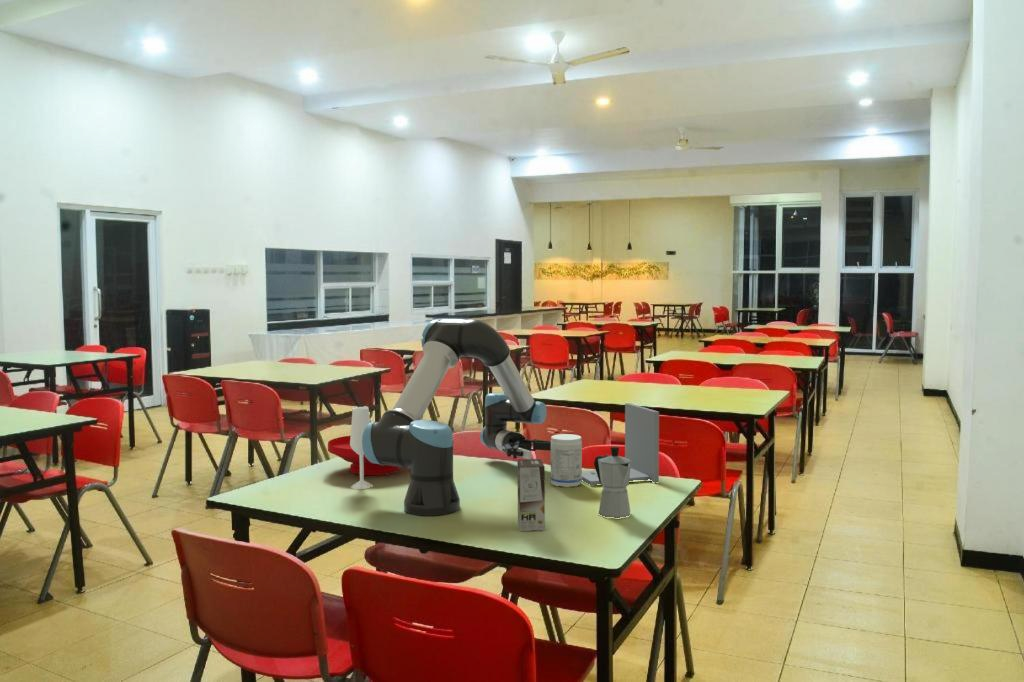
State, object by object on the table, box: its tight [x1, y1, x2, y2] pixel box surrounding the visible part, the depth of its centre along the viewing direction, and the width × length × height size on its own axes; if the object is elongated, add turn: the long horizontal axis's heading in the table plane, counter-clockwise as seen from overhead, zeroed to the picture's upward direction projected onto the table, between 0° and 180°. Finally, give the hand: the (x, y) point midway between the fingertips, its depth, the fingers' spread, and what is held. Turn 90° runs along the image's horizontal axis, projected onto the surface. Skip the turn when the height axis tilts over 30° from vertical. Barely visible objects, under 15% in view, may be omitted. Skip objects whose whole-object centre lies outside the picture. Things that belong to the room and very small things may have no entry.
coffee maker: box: [593, 446, 632, 518], centre depth 205 cm, size 15×9×18 cm, turn 30°
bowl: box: [327, 434, 400, 476], centre depth 258 cm, size 30×30×10 cm
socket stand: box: [582, 402, 660, 485], centre depth 244 cm, size 20×21×22 cm
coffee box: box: [516, 458, 546, 532], centre depth 194 cm, size 9×6×16 cm
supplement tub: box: [550, 433, 583, 487], centre depth 237 cm, size 10×10×15 cm
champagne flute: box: [350, 406, 374, 490], centre depth 235 cm, size 7×7×24 cm
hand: (548, 453), depth 245 cm, fingers open, 13 cm apart
